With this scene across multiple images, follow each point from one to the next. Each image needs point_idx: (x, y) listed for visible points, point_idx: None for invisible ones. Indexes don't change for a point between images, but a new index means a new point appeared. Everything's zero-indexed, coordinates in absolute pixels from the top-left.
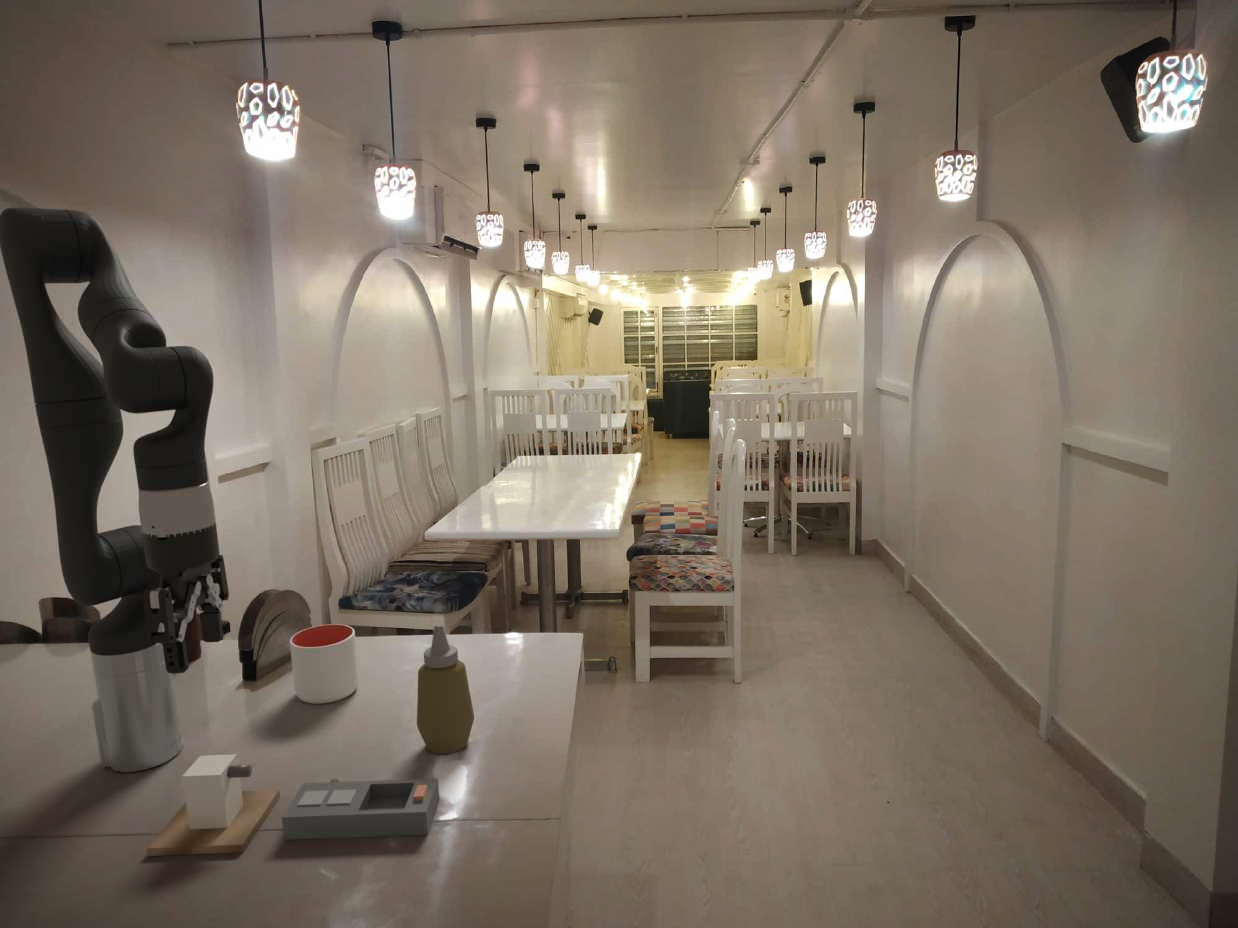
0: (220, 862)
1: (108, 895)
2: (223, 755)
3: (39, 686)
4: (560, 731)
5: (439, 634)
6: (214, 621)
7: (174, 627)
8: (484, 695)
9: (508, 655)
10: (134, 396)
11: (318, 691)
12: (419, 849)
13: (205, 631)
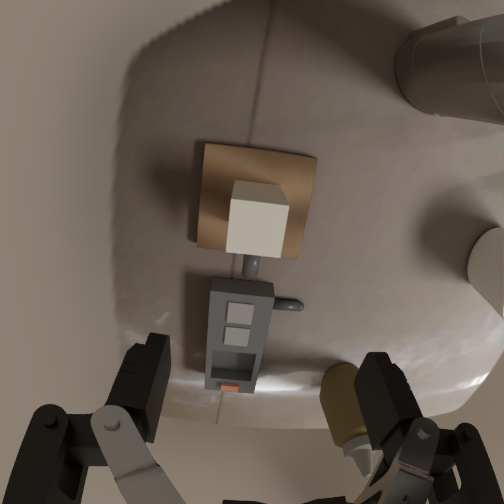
0: (184, 225)
1: (146, 131)
2: (281, 239)
3: None
4: (325, 427)
5: (360, 470)
6: (371, 423)
7: (83, 482)
8: (408, 383)
9: (458, 383)
10: None
11: (476, 262)
12: (188, 369)
13: (375, 379)
